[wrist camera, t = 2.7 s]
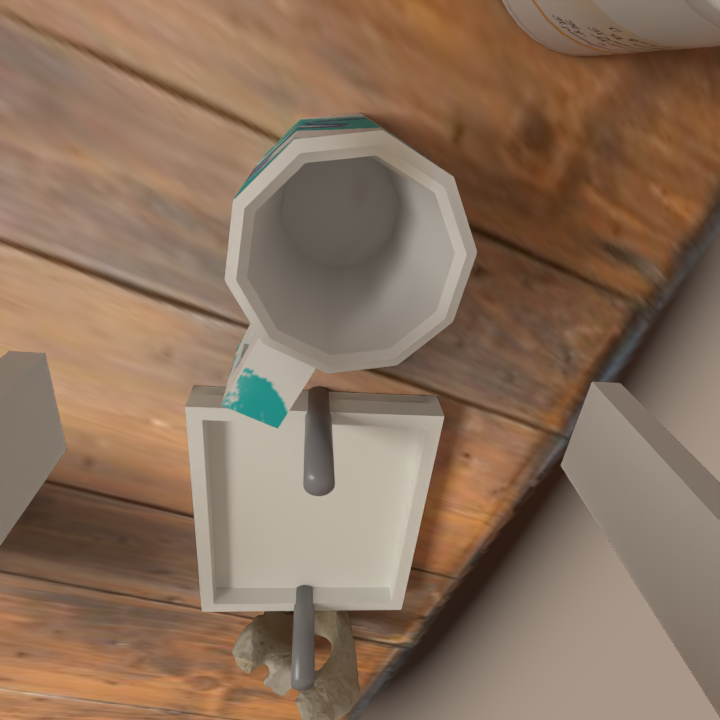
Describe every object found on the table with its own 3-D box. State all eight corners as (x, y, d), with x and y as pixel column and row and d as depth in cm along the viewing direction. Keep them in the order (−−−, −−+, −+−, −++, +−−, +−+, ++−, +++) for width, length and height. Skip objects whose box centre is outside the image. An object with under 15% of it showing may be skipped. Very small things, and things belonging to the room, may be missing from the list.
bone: (220, 668, 38) (222, 773, 28) (236, 582, 38) (244, 656, 28) (330, 670, 40) (366, 767, 30) (344, 589, 40) (384, 659, 31)
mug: (459, 178, 23) (526, 225, 16) (331, 375, 28) (338, 481, 20) (300, 73, 21) (293, 70, 13) (188, 309, 25) (138, 403, 18)
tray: (193, 381, 27) (158, 468, 21) (437, 391, 29) (470, 475, 23) (207, 588, 35) (185, 694, 29) (396, 587, 37) (412, 687, 31)
